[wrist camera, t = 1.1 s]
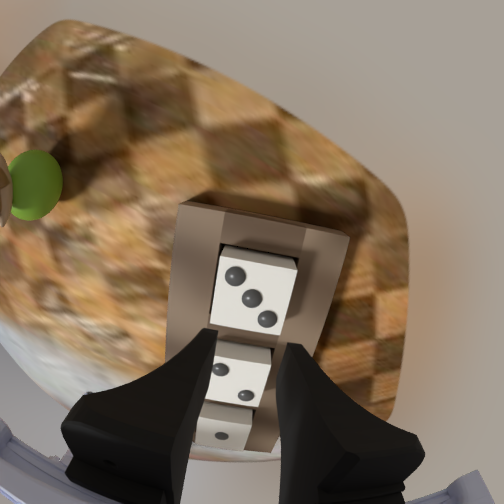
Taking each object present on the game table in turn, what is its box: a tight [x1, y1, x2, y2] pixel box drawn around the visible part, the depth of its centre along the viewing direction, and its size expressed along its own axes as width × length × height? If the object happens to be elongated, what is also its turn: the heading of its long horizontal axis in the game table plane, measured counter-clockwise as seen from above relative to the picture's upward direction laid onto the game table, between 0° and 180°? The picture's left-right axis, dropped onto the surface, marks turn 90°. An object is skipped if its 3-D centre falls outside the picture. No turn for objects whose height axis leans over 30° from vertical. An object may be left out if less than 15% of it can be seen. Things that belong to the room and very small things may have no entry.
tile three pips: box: [210, 245, 298, 335], centre depth 18 cm, size 4×4×3 cm
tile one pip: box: [195, 401, 252, 451], centre depth 22 cm, size 4×4×3 cm
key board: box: [165, 201, 350, 453], centre depth 21 cm, size 23×11×2 cm, turn 169°
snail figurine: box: [0, 150, 63, 227], centre depth 13 cm, size 5×6×12 cm
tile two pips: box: [205, 338, 271, 407], centre depth 20 cm, size 4×4×3 cm
